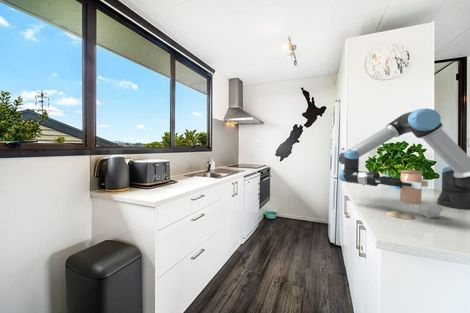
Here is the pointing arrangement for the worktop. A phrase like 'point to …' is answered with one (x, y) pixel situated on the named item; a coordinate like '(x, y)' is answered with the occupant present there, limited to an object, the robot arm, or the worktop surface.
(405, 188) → the jar
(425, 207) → the die
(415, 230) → the worktop surface
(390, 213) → the disc
